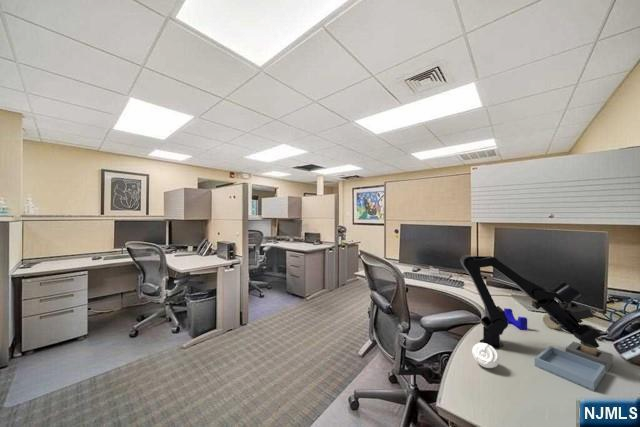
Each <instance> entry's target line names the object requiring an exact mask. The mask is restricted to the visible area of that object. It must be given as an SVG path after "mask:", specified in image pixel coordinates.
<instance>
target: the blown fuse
mask: <svg viewBox="0 0 640 427" xmlns="http://www.w3.org/2000/svg"><path fill="white" fill-rule="evenodd" d="M579 324H580V325H589V326H591V327H593V328H595V329H596V330H598V327H596V326H594V325H591V324H586V323H579ZM595 340H596V341H597V340H598V338H596V339H595ZM579 341H580V340H579ZM597 342H598V341H597ZM580 344H581V351H582V352H584V353H587V354H590V355H593V356H596V357H597V349H598V348H597V347H594V346H592V345H590V344H585V343H583V342H582V341H580Z"/></svg>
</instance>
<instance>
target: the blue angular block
mask: <svg viewBox="0 0 640 427" xmlns="http://www.w3.org/2000/svg"><path fill="white" fill-rule="evenodd" d="M503 311H504V312H505V315H506V318H507V319H508V320H509V321H507V322H508V325H513V326H514V327H515V328H517V329H519V330H520V331H528V318H527V317H525V316H518V317H517V319H516V318H515V316H514V314H513V309H511V308H503Z"/></svg>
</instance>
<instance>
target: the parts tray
mask: <svg viewBox="0 0 640 427" xmlns="http://www.w3.org/2000/svg"><path fill="white" fill-rule="evenodd" d="M534 366H535V367H536V368H538V369H541V370H543V371H546V372H548V373H550V374H553V375H554V376H557V377H559V378H562V379H564V380H567V381H569V382H571V383H572V384H574V385H578V386H580V387H582V388H585V389H587V390H588V391H592V392H595V391H596V389H597V388H598V387H599V385H600V383H601V382H602V381H603V379H604V378H605V376H606V374H607V372H605V365H602V364H599V363H596V362H594V361H591V360H588V359H585V358H582V357H580V356H577V355H574V354H571V353H569V352H566V350H562V349H560V348H556V347H554V346H551V345H549V346H548V347H546V348H545V349H544V350H542V351H541V352H540V353H538V355H536V356H535V357H534Z"/></svg>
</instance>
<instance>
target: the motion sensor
mask: <svg viewBox="0 0 640 427" xmlns="http://www.w3.org/2000/svg"><path fill="white" fill-rule="evenodd" d="M471 351H472V356H473V359H474V360H475V361H476V363H477V364H479V365H480V366H481V367H483V368H485V369H494V368H497V366H498V365H499V362H500V361H499V360H500V356H499V354H498V351H497V349H495V348H493V347H492V346H491V345H488V344H487V343H481V342H478V343H476V344H475V345H473V347H472V350H471Z"/></svg>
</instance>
